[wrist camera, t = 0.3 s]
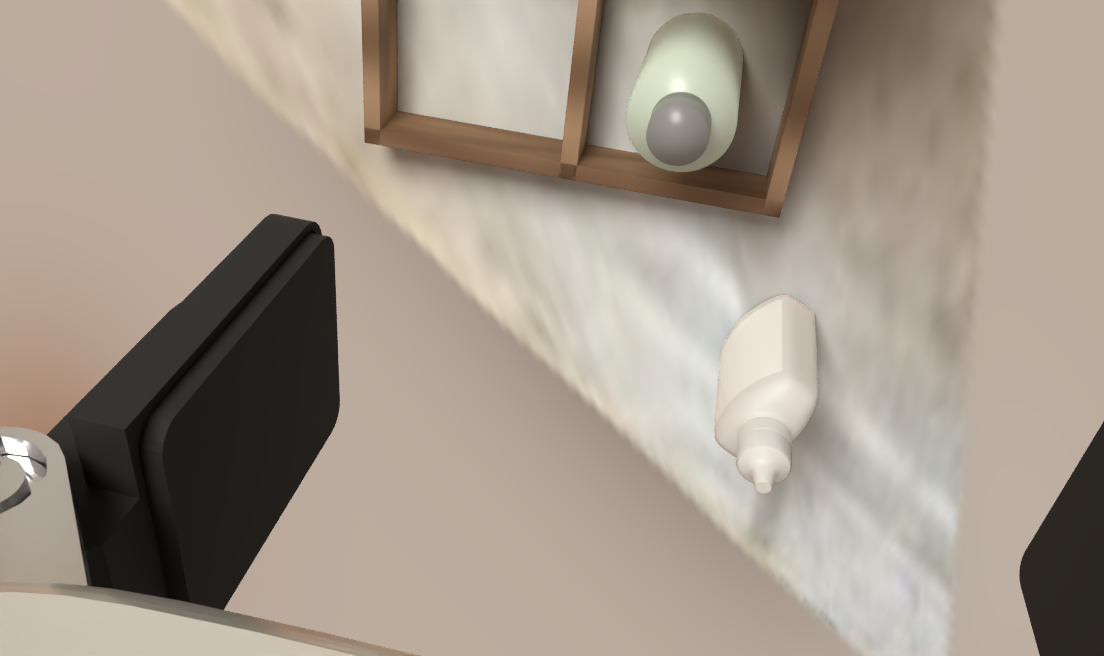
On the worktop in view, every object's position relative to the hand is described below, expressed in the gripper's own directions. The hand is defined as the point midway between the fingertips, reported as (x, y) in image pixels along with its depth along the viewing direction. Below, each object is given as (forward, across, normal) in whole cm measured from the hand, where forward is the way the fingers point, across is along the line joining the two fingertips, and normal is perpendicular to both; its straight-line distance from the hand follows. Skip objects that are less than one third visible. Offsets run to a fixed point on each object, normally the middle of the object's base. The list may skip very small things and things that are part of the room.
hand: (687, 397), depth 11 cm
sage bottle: (+33, +1, +7) cm, 34 cm away
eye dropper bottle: (+34, -6, +21) cm, 40 cm away
